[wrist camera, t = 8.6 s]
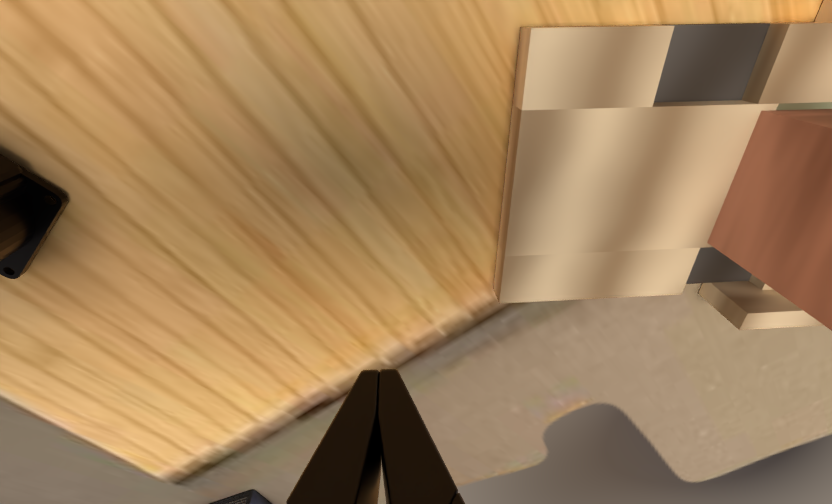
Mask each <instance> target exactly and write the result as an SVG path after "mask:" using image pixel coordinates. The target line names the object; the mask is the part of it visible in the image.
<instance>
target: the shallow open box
mask: <svg viewBox="0 0 832 504" xmlns="http://www.w3.org/2000/svg"><path fill="white" fill-rule="evenodd" d="M805 109H832V0H823V3H822V5H821V7H820V10H819V12H818V14H817V17H816V19H815V21H814V22H806V23H746V24H686V25H626V26H566V27H521V29H520V38H519V48H518V57H517V67H516V76H515V86H514V96H513V105H512V115H511V124H510V134H509V143H508V153H507V162H506V172H505V182H504V191H503V201H502V210H501V220H500V229H499V239H498V248H497V258H496V268H495V277H494V287H493V289H494V291H495V294H496V296H497V299H498V302H499V303H518V302H537V301H557V300H577V299H597V298H617V297H636V296H656V295H676V294H682V292H683V289H684V287H685V284H693V283H702V286H701V288H700V290H699V293H698V294H699V295H700V296H702V297H703V298H704V299H705V300H706V301H707V302H708V303H709V304H711V305H712V306H713V307H714V308H715V309H716V310H717V311H718V312H720V313H721V314H722V315H723V316H724V317H725V318H726V319H727V320H729V321H730V322H731V323H732V324H733V325H734V326H735V327H736V328H738V329H739V330H748V329H766V328H784V327H802V326H820V325H823V324H822V323H820V322H819V321H817V320H816V319H815V318H813V317H812V316H810V315H809V314H808V313H806V312H805V311H803V310H802V309H800V308H799V307H798V306H796V305H795V304H793V303H792V302H791V301H789V300H788V299H786V298H785V297H783V296H782V295H781V294H779V293H778V292H776V291H775V290H774V289H772V288H771V287H769V286H768V285H766V284H765V283H764V282H762V281H761V280H759V279H758V278H757V277H755V276H754V275H752V274H751V273H749V272H748V271H747V270H745V269H744V268H742V267H741V266H739V265H738V264H737V263H735V262H734V261H732V260H731V259H730V258H728V257H727V256H725V255H724V254H722V253H721V252H720V251H718V250H717V249H715V248H714V247H713V246H711V245H710V244H708V243H707V242H708V240H709V237H710V235H711V232H712V230H713V227H714V225H715V222H716V220H717V218H718V215H719V213H720V210H721V208H722V205H723V203H724V200H725V198H726V196H727V193H728V191H729V188H730V186H731V183H732V181H733V179H734V176H735V174H736V171H737V169H738V166H739V164H740V161H741V159H742V157H743V154H744V152H745V149H746V147H747V144H748V142H749V139H750V137H751V135H752V132H753V130H754V127H755V125H756V122H757V120H758V117H759V115H760V113H761V111H769V110H805Z"/></svg>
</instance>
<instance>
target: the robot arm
mask: <svg viewBox="0 0 832 504" xmlns="http://www.w3.org/2000/svg"><path fill="white" fill-rule="evenodd" d="M50 196H52V197H53V198H55V200H56V201H54V200H53V199H51V197H50ZM67 201H68V200H67V197H66V195H65V194H64V193H63V192H62V191H61V190H59V189H57V188H56V187H54V186H52V185H51V184H49V183H47V182H46V181H44V180H42V179H41V178H39V177H37V176H36V175H34V174H32V173H31V172H29V171H27V170H26V169H24V168H22V167H21V166H19V165H17V164H16V163H14V162H12V161H11V160H9V159H7V158H6V157H4V156H2V155H1V154H0V274H1V275H3V276H5V277H7V278H10V279H16V278H18V277H20V276H21V275H22V274H24V273H25V272H26V270H27V268H28V267H29V265H30V263H31V262H32V260H33V259H34V257H35V255H36V254H37V252H38V250H39V249H40V247H41V245H42V244H43V242H44V240H45V239H46V237H47V235H48V234H49V232H50V231H51V229H52V227H53V226H54V224H55V222H56V221H57V219H58V217H59V216H60V214H61V212H62V211H63V209H64V208H65V206H66V204H67ZM12 269H13V270H12ZM381 460H382V469H383V480H384V488H385V496H386V504H465V503H464V501H463V499H462V497H461V495H460V493H458V489H457V487H456V485H455V483H454V481H453V479H452V477H451V475H450V473H449V471H448V469H447V467H446V465H445V463H444V461H443V459H442V457H441V455H440V453H439V451H438V449H437V447H436V445H435V443H434V441H433V439H432V438H431V436H430V434H429V432H428V430H427V428H426V426H425V424H424V422H423V420H422V418H421V416H420V414H419V412H418V410H417V408H416V406H415V404H414V402H413V400H412V398H411V396H410V394H409V392H408V390H407V388H406V386H405V384H404V382H403V380H402V378H401V376H400V374H399V372H398V370H397V369H381V370H380V372H379V371H378V370H363V371H361V373H360V374H359V376H358V378H357V379H356V381H355V383H354V385H353V386H352V388H351V390H350V392H349V393H348V395H347V397H346V398H345V400H344V402H343V404H342V405H341V407H340V409H339V411H338V412H337V414H336V416H335V418H334V419H333V421H332V423H331V425H330V426H329V428H328V430H327V432H326V433H325V435H324V437H323V438H322V440H321V442H320V444H319V445H318V447H317V449H316V451H315V452H314V454H313V456H312V458H311V459H310V461H309V463H308V465H307V466H306V468H305V470H304V472H303V473H302V475H301V477H300V478H299V480H298V482H297V484H296V485H295V487H294V489H293V491H292V492H291V494H290V496H289V498H288V499H287V504H378V495H379V486H380V476H381Z"/></svg>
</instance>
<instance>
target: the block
mask: <svg viewBox="0 0 832 504" xmlns="http://www.w3.org/2000/svg"><path fill="white" fill-rule="evenodd" d="M707 243H708V244H710V245H711V246H713V247H714V248H715V249H717V250H718V251H720V252H721V253H722V254H724V255H725V256H727V257H728V258H730V259H731V260H732V261H734V262H735V263H737V264H738V265H739V266H741V267H742V268H744V269H745V270H747V271H748V272H749V273H751V274H752V275H754V276H755V277H757V278H758V279H759V280H761V281H762V282H764V283H765V284H766V285H768V286H769V287H771V288H772V289H774V290H775V291H776V292H778V293H779V294H781V295H782V296H783V297H785V298H786V299H788V300H789V301H791V302H792V303H793V304H795V305H796V306H798V307H799V308H800V309H802V310H803V311H805V312H806V313H808V314H809V315H810V316H812V317H813V318H815V319H816V320H817V321H819V322H820V323H822V324H823V325H825V326H826V327H827V328H829V329H830V330H832V109H805V110H769V111H761V113H760V115H759V117H758V120H757V122H756V125H755V127H754V130H753V132H752V135H751V137H750V139H749V142H748V144H747V147H746V149H745V152H744V154H743V157H742V159H741V161H740V164H739V166H738V169H737V171H736V174H735V176H734V179H733V181H732V183H731V186H730V188H729V191H728V193H727V196H726V198H725V200H724V203H723V205H722V208H721V210H720V213H719V215H718V218H717V220H716V222H715V225H714V227H713V230H712V232H711V235H710V237H709V240H708V242H707Z"/></svg>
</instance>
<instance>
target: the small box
mask: <svg viewBox="0 0 832 504" xmlns="http://www.w3.org/2000/svg"><path fill="white" fill-rule="evenodd" d="M211 504H271V503H269V502H268V501H267V500H266V499H265V498H263V497H262V496H261V495H260V494H259V493H258V492H256V491H255V490H254V489H253V490H249V491H247V492H244V493H241V494H238V495H235V496H232V497H229V498H226V499H223V500H220V501H217V502H214V503H211Z"/></svg>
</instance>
